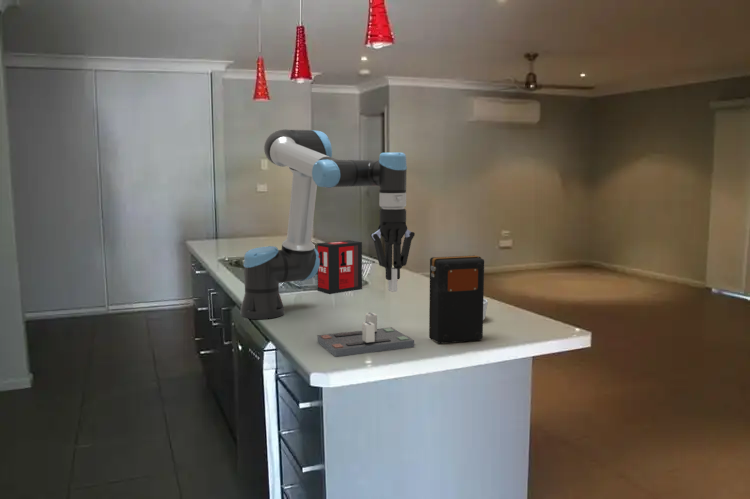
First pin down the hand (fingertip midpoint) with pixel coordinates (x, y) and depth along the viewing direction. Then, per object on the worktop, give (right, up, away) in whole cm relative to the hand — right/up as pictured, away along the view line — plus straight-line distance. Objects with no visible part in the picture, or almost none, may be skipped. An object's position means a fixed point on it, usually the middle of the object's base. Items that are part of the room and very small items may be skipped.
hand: (392, 290), depth 181 cm
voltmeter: (+19, -15, +9) cm, 26 cm away
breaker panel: (-8, -16, +4) cm, 18 cm away
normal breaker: (-6, -13, +10) cm, 17 cm away
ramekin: (+26, -12, +34) cm, 44 cm away
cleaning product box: (-20, -5, +85) cm, 88 cm away
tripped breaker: (-7, -14, -1) cm, 16 cm away
